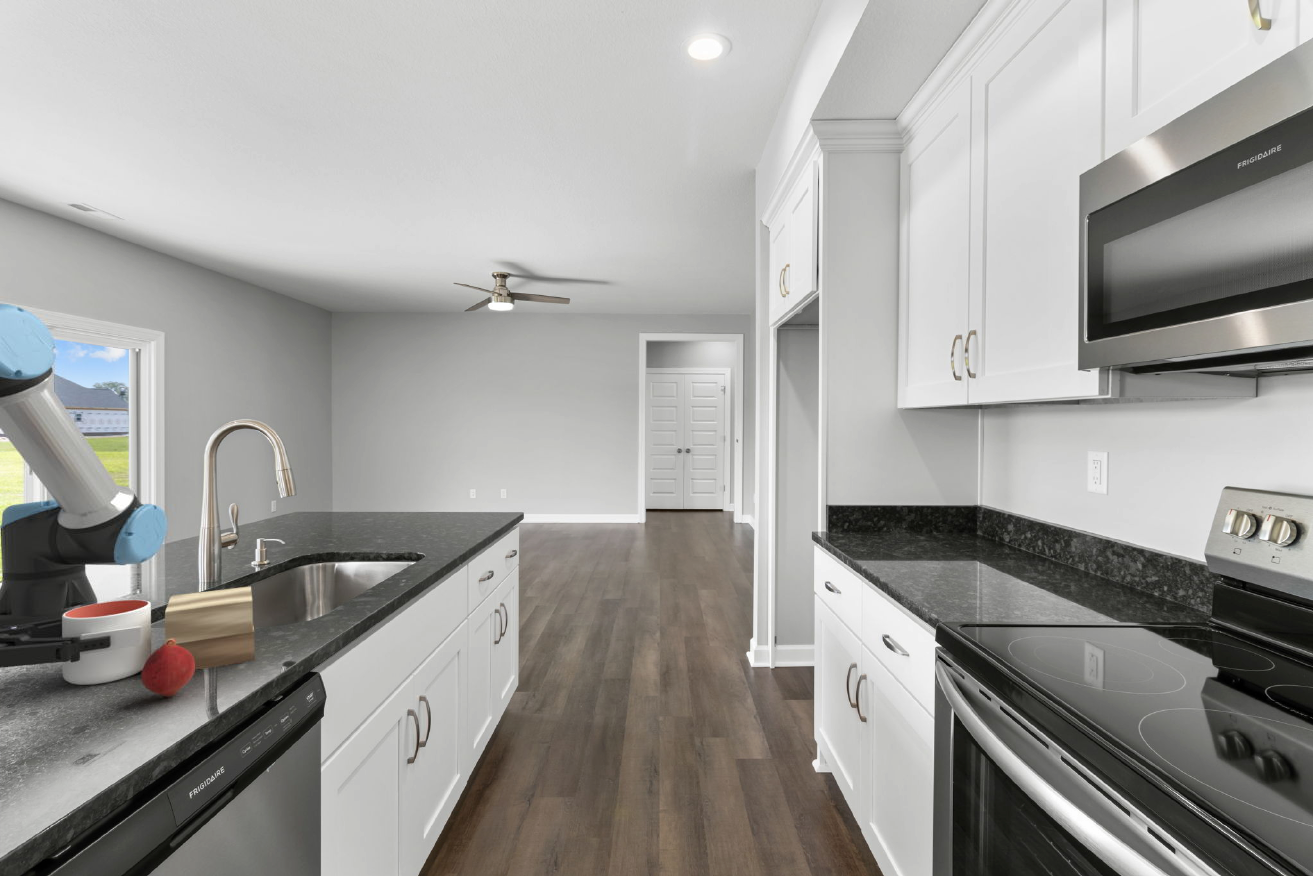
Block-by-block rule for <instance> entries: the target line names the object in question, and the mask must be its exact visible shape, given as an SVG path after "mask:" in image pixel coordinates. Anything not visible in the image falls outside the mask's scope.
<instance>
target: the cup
mask: <svg viewBox="0 0 1313 876" xmlns="http://www.w3.org/2000/svg"><path fill="white" fill-rule="evenodd" d="M151 604H152V603H151V601H148V600H144V599H143V600H142V599H123V600H121V599H119V600H113V601H104V602H97V604H92V605H87V606H83V607H79V608H76V609H73V610H70V611H68V612H66V613H64V614H63V615H62V637H80V640H81V635H82V634H86V633H93V632H101V631H108V630H115V629H122V628H129V627H137V626H141V639H142V644H141V645H140V646H134V647H127V648H121V649H114V650H108V651H101V652H95V653H88V654H81V652H80V660H79V661H77V662H71V660H69V661H67V662H61V663H62V665H61V666H62V669H61V670H62V678H63V679H64V680H65V681H67V683H70V684H72V685H81V686H83V685H84V686H89V685H98V684H105V683H111V682H115V681H118V680H122V679H125V678H128V677H129V678H130V677H131V676H134V675H136V674H138V673H141V672H142V670H143V667H144V665H145V663H146V661H147V659H148V658H149V657H150V656H151V655H152V608H151V607H152V605H151Z"/></svg>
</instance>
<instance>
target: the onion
mask: <svg viewBox="0 0 1313 876" xmlns="http://www.w3.org/2000/svg"><path fill="white" fill-rule="evenodd" d="M175 642H176V640H175V639H174V638H173V639H169V640H167V641H166V642H165V641H164V643H163V644H162V645H161V646H160V647H159V648H157V649H156V650H154V651H153V652H152V653H151V656H150V657H149V658H148V659H147V661H146V663H145V665H144V667H143V670H142V671H141V676H140V677H141V682H142V683H141V684H142V685H143V686H144V688H146V690H149V692H150V691H151V692H152V693H154V694H157V695H160V696H163V697H165V698H170V697H173V696H175V695H176V694H177V693H178V692H179V691H181V689H182V688H183V687H185V686H186V685H187V684H188V683H189V681H190V680H192V678H193V676H194V674H195V672H196V671H195V661H194V658H193V656H192V654H191V653H190V652H189V651H188V650H186V649H185V648H183V647H180V646H178V645H176V643H175Z"/></svg>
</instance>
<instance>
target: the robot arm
mask: <svg viewBox="0 0 1313 876" xmlns="http://www.w3.org/2000/svg"><path fill="white" fill-rule="evenodd" d="M55 348H56V342H55V339H54V337H53V334H52V332H51V331H50V329H49V328H48V326H46V324H45V323H44V322H43V321H42V320H41V319H40V318H38V317H37V316H36V315H35V314H33V313H32V312H30V311H28V310H26V309H24V308H23V307H20V306H19V307H18V306H16V305H13V304H8V303H0V430H1V431H2V432H3V434H4V435H5V436H6V438H7V439H8V440H9V442H10V443H11V444H12V445H13V447H14V448H15V450H16V451H17V452H18V453H19V455H20V456H21V457H22V459H23V460H24V461H25V462H26V464H27V465H28V467H29V468H30V469H31V471H32V472H33V473H34V475H36V477H37V479H38V480H39V481H40V482H41V484H42V485H43V486H44V488H45V489H46V490H47V491H48V493H49V495H51V497H52V498H53V499H51V500H49V499H48V500H43V501H40V500H39V501H34V502H26V503H25V502H24V503H19V504H18V503H17V504H12V505H9V506H7V507H6V508H4V509H3V512H2V515H1V525H0V544H1V545H0V546H1V547H0V549H1V570H2V571H1V573H2V575H1V579H2V581H1V586H0V669H1V668H3V669H4V668H12V667H14V668H15V667H21V666H22V667H23V666H32V665H34V666H35V665H43V664H44V665H46V664H55V663H62V662H67V661H69V660H71V662H77V661H79V660H80V652H81V654H88V653H95V652H101V651H108V650H114V649H121V648H127V647H134V646H140V645H141V644H142V639H141V626H137V627H129V628H122V629H115V630H108V631H101V632H93V633H86V634H82V635H81V640H80V637H62V615H63V614H64V613H66V612H68V611H70V610H73V609H76V608H79V607H83V606H87V605H92V604H97V603H98V597H97V595H96V593H95V591H94V589H93V587H92V585H91V582H90V580H89V578H88V576H87V573H86V571H87V570H86V565H90V566H92V565H93V566H94V565H96V566H98V565H99V566H100V565H101V566H102V565H103V566H127V565H137V564H141V563H145V562H147V561H148V560H150V559H152V558H153V557H154V556H155V555H156V554H157V553H158V552H159V550H160V549H161V547H162V546H163V543H164V542H165V538H166V534H167V532H168V520H167V516H166V513H165V511H164V510H163V508H161V507H160V506H159V505H156V504H152V503H144V504H143V503H141V501H140V500H139V498H138V497H137V495H136V494H135V493H134V491H133V490H132V488H130V487H128V486H126V485H119V484H118V485H117V483H116V481H115V480H114V478H113V477H112V475H111V474H110V473H109V471H108V470H107V468H106V467H105V465H104V464H103V462H102V461H101V459H100V457H99V456H98V455H97V453H96V452H95V450H94V448H93V447H92V446H91V444H90V443H89V441H88V440H87V438H86V437H85V435H84V434H83V432H82V431H81V430H80V428H79V427H78V425H77V423H76V422H75V421H74V419H73V417H72V416H71V414H70V412H69V411H68V410H67V409H66V407H65V406H64V404H63V403H62V401H61V400H60V398H59V397H58V395H57V393H56V392H55V391H54V389H53V388H52V386H51V385H50V383H49V382H50V380H51V379H52V377H53V375H54V369H53V368H52V366H53V364H54V363H55V360H56V355H57V353H56V352H54V351H53V349H55Z"/></svg>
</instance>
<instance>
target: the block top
mask: <svg viewBox="0 0 1313 876" xmlns="http://www.w3.org/2000/svg"><path fill="white" fill-rule="evenodd" d="M252 593H253V592H252V586H244V587H237V588H236V587H232V588H224V589H219V590H218V589H216V590H210V591H202V592H192V593H185V594H184V593H183V594H174V595H170V598H169V599H168V600H169V601H168V603H167V606H166V608H165V612H164V635H165V636H164V637H165V638H164V640H165V641H164V643H165V642H166V641H167V640H169V639H173V638H174V639H175V640H176V642H175V643H176V644H178V643H184V642H191V641H197V640H204V639H210V638H217V637H223V636H230V635H236V634H243V633H249V632H253V625H254V621H253V618H254V617H253V616H254V614H253V612H254V611H253V608H254V607H253V594H252Z"/></svg>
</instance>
